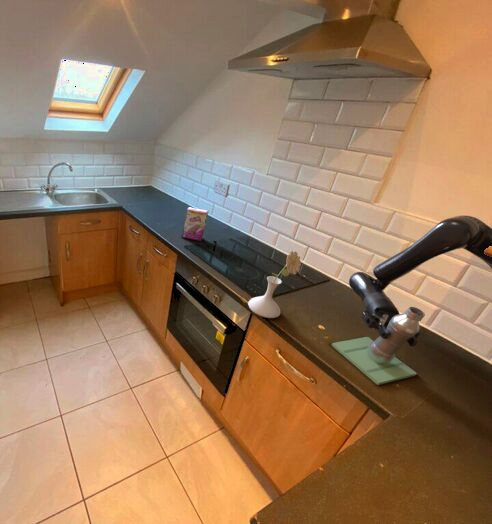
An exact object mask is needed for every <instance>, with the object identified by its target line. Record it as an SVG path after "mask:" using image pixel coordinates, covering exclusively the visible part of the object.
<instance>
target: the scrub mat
mask: <svg viewBox="0 0 492 524" xmlns="http://www.w3.org/2000/svg"><path fill="white" fill-rule="evenodd" d="M373 341H374V340H373V339H372V338H370V337H369V336H364V337H358V338H352V339H348V340H342V341H335V342H332V343H331V347H333V348H334V349H335V350H336V351H337V352H338V353H339V354H340V355H342V356H343V357H344V358H345V359H347V360H348V362H350V363H351V364H352V365H354V366H355V367H356V368H357V369H358V370H359V371H361V372H362V373H363V374H364V375H365V376H367V377H368V378H369V379H370V380H371V381H372V382H373V383H374V384H375V385H377V386H380V385H385V384H389V383H392V382H396V381H401V380H403V379H404V380H405V379H409V378H412V377H415V376H416V375H417V374H418V373H417V372H416V371H415V370H414V369H412V368H410V367H409V365H407V364H406V363H404V362H403V361H401V360H400V359H399V358H397V357H396V356H394V358H393V360H392V361H390V362H389V363H387V364H380V363H377V362H375V361H374V360H372V359H371V358H370V357H369V356H368V354H367V348H368V346H369V345H370V344H371V343H372V342H373Z"/></svg>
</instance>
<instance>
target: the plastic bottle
mask: <svg viewBox="0 0 492 524" xmlns="http://www.w3.org/2000/svg"><path fill="white" fill-rule="evenodd" d="M425 316H426V314H425V312H424V311H422V309H420V308H418V307H415V306H410V307H408V309H406V310H405V311H404V313H399V315H395V316H394V317H392V319H391V321H390V322H389V324H388V326H387V328H386V329H387V330H388V332H389V336H388V337H387V339H383V338H382V336H380V335H379V336H378V337H377V338H376V339H375V340H373V342H372V343H371V344H370V345H369V346H368V348H367V354H368V356H369V357H370V358H371V359H372V360H374V361H375V362H377V363H380V364H387V363H389V362H390V361H392V360H393V358H394V357H396V355H397V353H398V351H399V350H400V349H401V348H402V346H403V345H405V343H406V342H407V341H408V340H409V339H410V338H412V337H413V336H414V335H416V334H417V333H418V331H420V322H421V321H422V320H423V319H424V318H425Z"/></svg>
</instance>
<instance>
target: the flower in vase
mask: <svg viewBox="0 0 492 524" xmlns="http://www.w3.org/2000/svg"><path fill="white" fill-rule="evenodd" d="M301 262H302V261H301V256H299V254H298V252H297V251H294V250H291V251H290V252H289V254H287V257H286V261H285V263H286V264H285V265H284V267H283V268H282V269H281V270H280V272H278V274H277V273H275V272H271V275H269V276H267V277H266V280H267V289H266V291H265V293H264V295H260V296H255V297H252V298H250V299H249V301H248V302H247V306H248V307H249V309H250V311H252V312H253V314H255V315H257V316H259V317H261V318H264V319H265V318H266V319H276V318H278V317H279V316H280V315H281V308H280V307H279V304H277V303H276V301H275V300H274V299H273V295H274V292H275V290H276V289H277V287H278V286H279V285H281V284H283V281H282V280H281V278H279V277H280V275H281V274H282V276H283V277H288V276H289V275H290V274H291V275H297V273H299V272H300V269H301V266H302V263H301Z"/></svg>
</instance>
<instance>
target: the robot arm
mask: <svg viewBox="0 0 492 524" xmlns="http://www.w3.org/2000/svg"><path fill="white" fill-rule="evenodd" d="M489 246H492V227H490V225H488V224H487V223H485V222H484V221H482V220H481V219H479V218H477V217H475V216H473V215H456V216H452V217H449V218H444V219H443V220H441V221H439V222H438V223H437V224H436V225H435V226H433V228H431V229H430V230H429V231H427V233H426V234H424V235H423V236H422V237H421V238H419V239H418V240H416V241H414V243H412V244H410V246H408V247H406V248H405V249H403V250H401V251H400V252H397V253H396V254H394V255H393V256H390V257H388V258H387V259H386V260H384V261H382V262H381V263H379V264H377V265H376V266H375V267H374V268H373V269H372V274H373V276H374V277H373V276H372V275H370V274H368V273H366V272H363V271H356V272H354V273H352V274H351V275H350V277H349V279H348V285H349V287H350V289H351V290H352V291H353V292H354V293H355V294H356V295H357V296H358V297H359V298H360V300H361V301H362V303H363V305H364V308H365V310H364V311H363V313H362V314H361V319H362V320H363V322H364V324H366V326H367V327H368V328H369V329H374V330H375V331H377V332H378V335H379V336H382V338H383V339H387V337H388V336H389V332H388V330H387V329H386V328H387V326H388V324H389V322H390V321H391V319H392V317H394V316H395V315H399V314H400V311H399V310H398V308H397V306H396V305H395V304H394V303H393V301H392V300H391V298H390V297H388V295H387V294H386V292H385V291H384V290H385V289H386V288H387V287H388V286H390V285H391V284H392V283H393V282H394V281H397V280H398V279H400V278H402V277H404V276H406V275H407V274H409V273H411V272H413V271H414V270H415V269H417V268H419V267H420V266H421V265H423V264H424V263H426V262H428V261H430V260H431V259H434V258H437V257H438V256H441V255H444V254H447V253H449V252H453V251H456V250H460V249H463V250H465V251H467V252H469V253H470V254H472V255H474V256H475V257H477V258H479V259H480V260H481V261H483V262H484V263H485V264H487V266H489V268H490V269H491V270H492V257H490V256H487V255H485V254H484V250H485V249H486V248H488V247H489ZM420 335H421V331H420V330H419V331H418V333H417V334H416V335H414V336H413V337H412V338H410V339H409V340H408V341H406V342H407V343H408V345H409V347H411V348H412V347H413V348H414V347H415V346H416V345H417V344H418V343H419V340H418V337H419V336H420Z"/></svg>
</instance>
